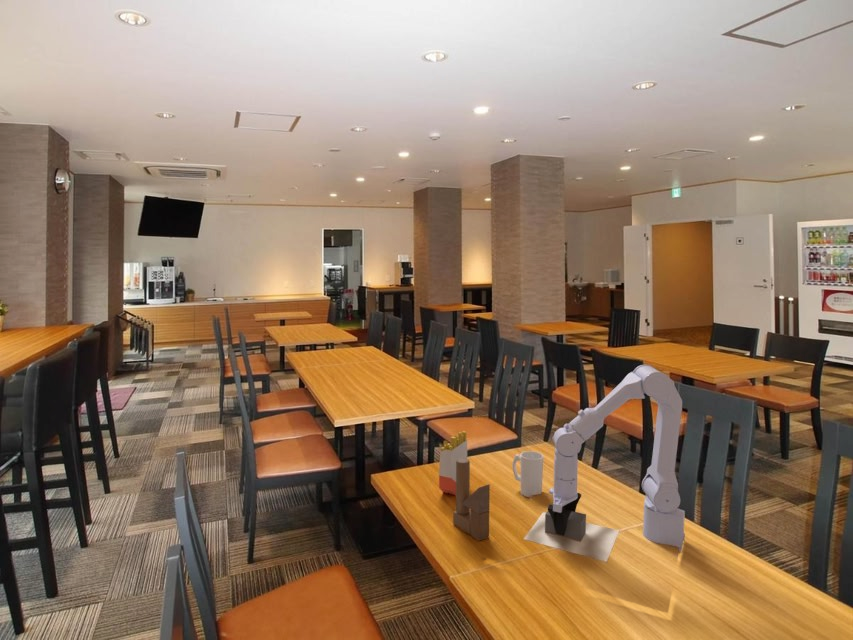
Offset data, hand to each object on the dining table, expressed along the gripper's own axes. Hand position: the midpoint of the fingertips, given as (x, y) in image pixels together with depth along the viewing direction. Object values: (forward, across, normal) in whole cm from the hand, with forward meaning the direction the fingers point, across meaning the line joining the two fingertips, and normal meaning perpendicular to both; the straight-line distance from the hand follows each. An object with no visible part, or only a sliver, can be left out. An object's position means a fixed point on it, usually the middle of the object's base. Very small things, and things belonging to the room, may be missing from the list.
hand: (564, 527), depth 133 cm
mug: (+3, -20, -17) cm, 26 cm away
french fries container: (+3, -10, -37) cm, 38 cm away
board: (+2, 0, +2) cm, 3 cm away
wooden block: (+3, +9, -22) cm, 24 cm away
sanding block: (+1, 0, 0) cm, 1 cm away
